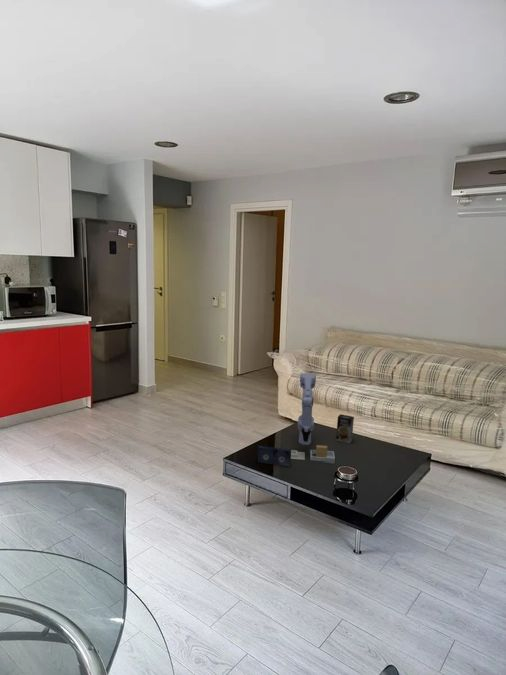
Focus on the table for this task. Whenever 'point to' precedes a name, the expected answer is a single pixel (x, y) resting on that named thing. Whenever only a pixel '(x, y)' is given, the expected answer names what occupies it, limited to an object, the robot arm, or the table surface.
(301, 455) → the box
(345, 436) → the coffee box
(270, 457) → the vhs cassette tape
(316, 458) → the parts tray
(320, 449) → the block
